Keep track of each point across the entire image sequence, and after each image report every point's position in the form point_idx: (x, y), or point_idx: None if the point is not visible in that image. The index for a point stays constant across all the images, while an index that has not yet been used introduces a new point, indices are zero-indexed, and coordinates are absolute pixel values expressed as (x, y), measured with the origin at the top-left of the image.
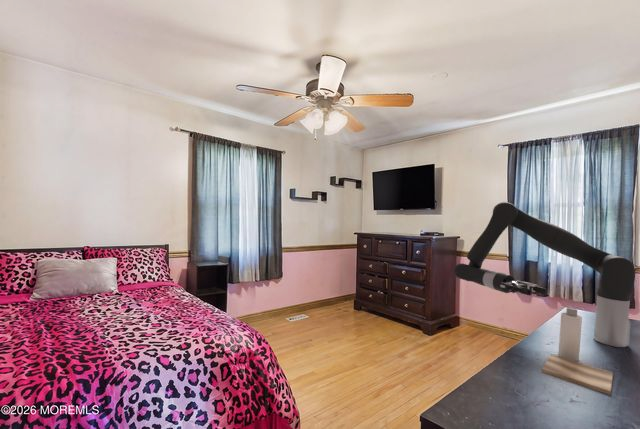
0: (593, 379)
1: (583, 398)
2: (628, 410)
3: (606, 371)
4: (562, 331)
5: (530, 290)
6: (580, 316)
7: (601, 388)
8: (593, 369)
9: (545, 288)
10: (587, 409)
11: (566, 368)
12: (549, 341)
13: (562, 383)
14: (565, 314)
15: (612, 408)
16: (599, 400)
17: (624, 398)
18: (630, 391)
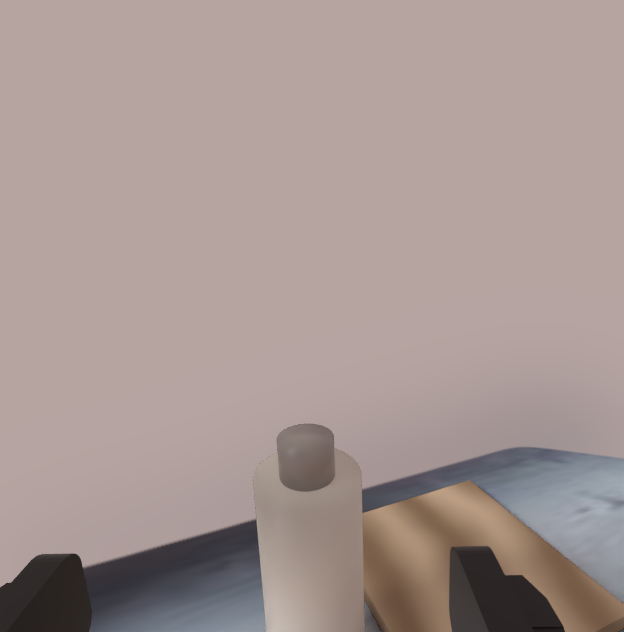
0: (457, 517)
1: (570, 501)
2: (485, 461)
3: None
4: (361, 581)
5: (486, 551)
6: (273, 456)
7: (483, 492)
8: (377, 550)
9: (38, 561)
10: (599, 479)
11: None
12: None
13: (583, 555)
14: (331, 488)
15: (521, 470)
16: (526, 488)
17: (439, 480)
18: (380, 489)
